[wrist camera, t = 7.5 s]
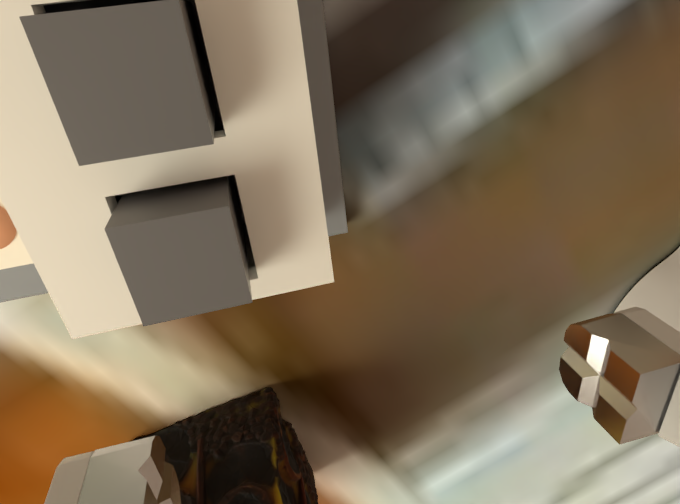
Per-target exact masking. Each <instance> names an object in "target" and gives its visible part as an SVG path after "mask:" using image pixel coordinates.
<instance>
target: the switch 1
mask: <svg viewBox="0 0 680 504" xmlns="http://www.w3.org/2000/svg"><path fill="white" fill-rule="evenodd" d="M19 18H20V20H21V23H22V25H23V28H24V30H25V33H26V35H27V38H28V40H29V43H30V45H31V48H32V50H33V53H34V55H35V58H36V60H37V63H38V65H39V68H40V70H41V73H42V75H43V78H44V80H45V82H46V85H47V87H48V90H49V92H50V95H51V97H52V100H53V102H54V105H55V107H56V110H57V112H58V115H59V117H60V120H61V122H62V125H63V127H64V130H65V132H66V135H67V137H68V140H69V142H70V145H71V147H72V150H73V152H74V155H75V157H76V160H77V162H78V165H79V166H83V165H89V164H95V163H101V162H107V161H114V160H120V159H126V158H132V157H138V156H144V155H150V154H156V153H163V152H169V151H175V150H181V149H187V148H193V147H199V146H206V145H212V144H214V126H215V103H214V99H213V94H212V90H211V86H210V81H209V77H208V73H207V69H206V64H205V60H204V56H203V51H202V47H201V43H200V39H199V34H198V30H197V26H196V21H195V17H194V13H193V8H192V4H191V3H189V2H186V1H183V0H162V1H153V2H144V3H135V4H126V5H117V6H109V7H100V8H91V9H82V10H73V11H64V12H55V13H47V14H38V15H29V16H20V17H19Z"/></svg>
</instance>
